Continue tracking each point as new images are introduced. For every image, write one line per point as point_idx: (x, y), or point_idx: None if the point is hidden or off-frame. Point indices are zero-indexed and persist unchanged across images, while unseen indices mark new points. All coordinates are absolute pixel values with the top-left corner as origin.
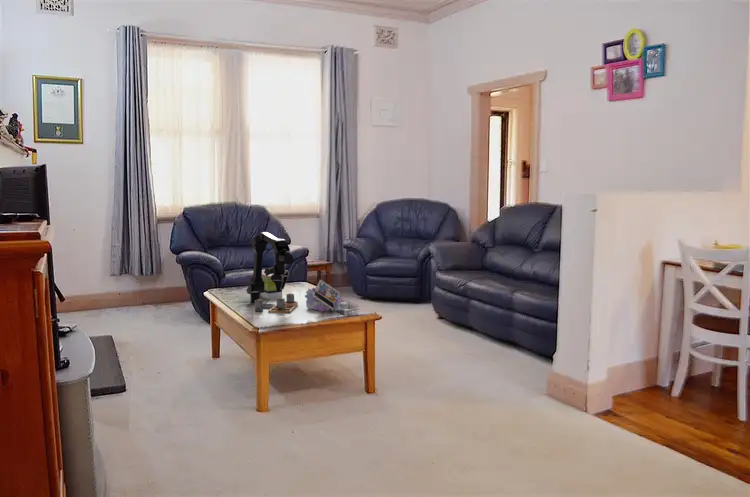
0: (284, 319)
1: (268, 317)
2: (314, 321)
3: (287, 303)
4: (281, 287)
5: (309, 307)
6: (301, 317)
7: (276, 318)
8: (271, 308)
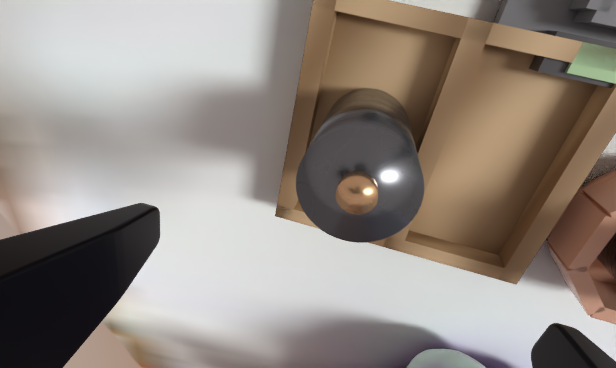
0: (119, 149)
1: (172, 3)
2: None
3: (605, 230)
4: (577, 364)
5: (410, 362)
6: (194, 262)
7: (142, 85)
8: (442, 21)
